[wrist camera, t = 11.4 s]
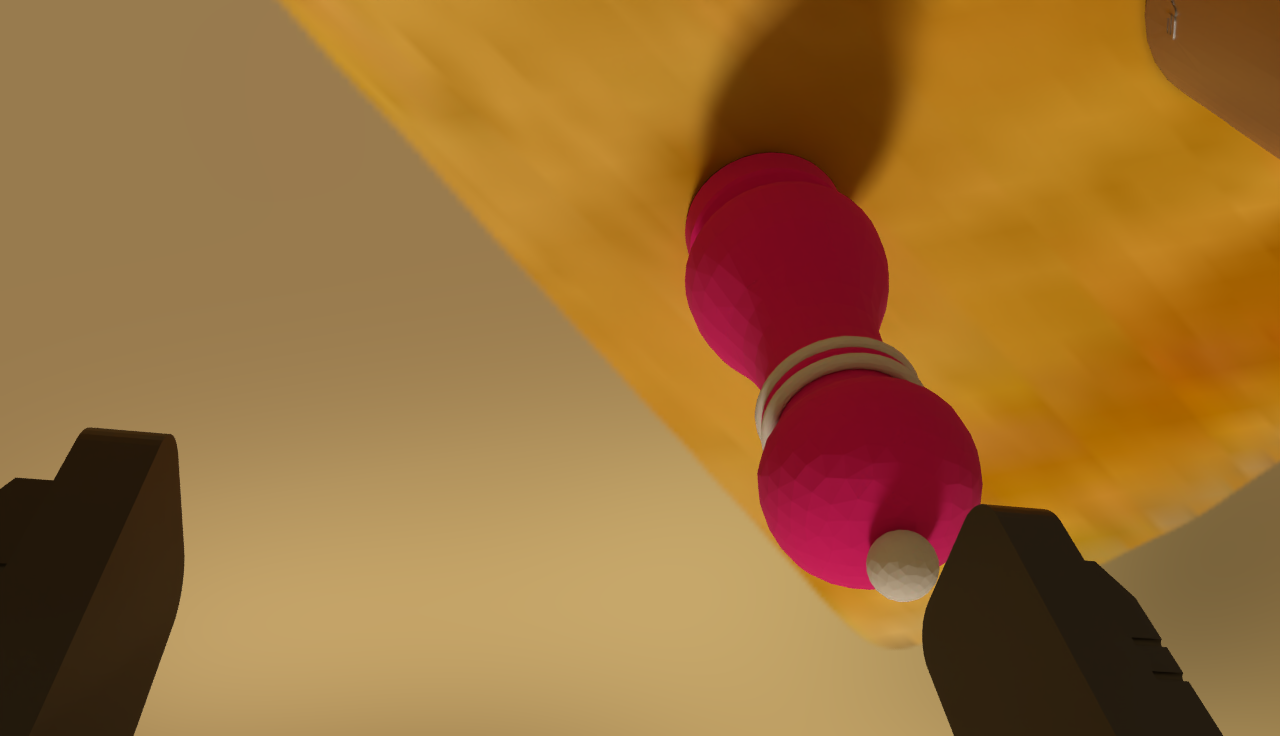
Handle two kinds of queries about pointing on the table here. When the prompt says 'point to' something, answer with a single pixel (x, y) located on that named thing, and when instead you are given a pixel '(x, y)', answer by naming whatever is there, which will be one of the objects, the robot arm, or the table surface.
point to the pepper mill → (827, 379)
